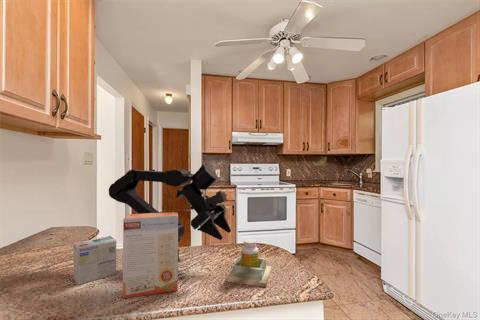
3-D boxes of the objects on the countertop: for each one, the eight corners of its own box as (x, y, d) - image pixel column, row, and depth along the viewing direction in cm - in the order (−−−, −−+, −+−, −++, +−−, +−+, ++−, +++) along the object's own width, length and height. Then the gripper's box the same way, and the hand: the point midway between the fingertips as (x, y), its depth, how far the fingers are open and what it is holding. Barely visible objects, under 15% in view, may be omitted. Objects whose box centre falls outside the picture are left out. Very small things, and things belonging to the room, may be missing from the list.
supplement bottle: (252, 277, 73) (253, 244, 73) (237, 272, 76) (238, 241, 76) (261, 270, 78) (261, 240, 78) (246, 266, 81) (247, 237, 81)
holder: (226, 281, 72) (226, 267, 72) (236, 264, 84) (237, 253, 84) (266, 286, 69) (266, 272, 69) (271, 269, 81) (271, 257, 81)
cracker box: (177, 281, 72) (178, 210, 72) (177, 292, 66) (178, 215, 66) (125, 287, 68) (127, 213, 68) (121, 299, 62) (122, 217, 63)
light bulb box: (110, 267, 81) (110, 235, 81) (117, 274, 76) (117, 239, 76) (72, 277, 74) (72, 242, 74) (76, 286, 69) (77, 247, 69)
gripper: (202, 184, 72) (236, 225, 69) (222, 182, 90) (249, 214, 87) (177, 208, 74) (209, 250, 71) (201, 201, 92) (227, 234, 89)
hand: (226, 235), depth 79 cm, fingers open, 9 cm apart
